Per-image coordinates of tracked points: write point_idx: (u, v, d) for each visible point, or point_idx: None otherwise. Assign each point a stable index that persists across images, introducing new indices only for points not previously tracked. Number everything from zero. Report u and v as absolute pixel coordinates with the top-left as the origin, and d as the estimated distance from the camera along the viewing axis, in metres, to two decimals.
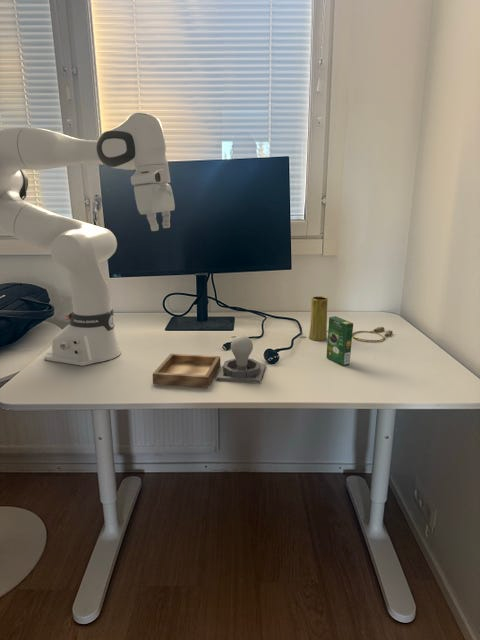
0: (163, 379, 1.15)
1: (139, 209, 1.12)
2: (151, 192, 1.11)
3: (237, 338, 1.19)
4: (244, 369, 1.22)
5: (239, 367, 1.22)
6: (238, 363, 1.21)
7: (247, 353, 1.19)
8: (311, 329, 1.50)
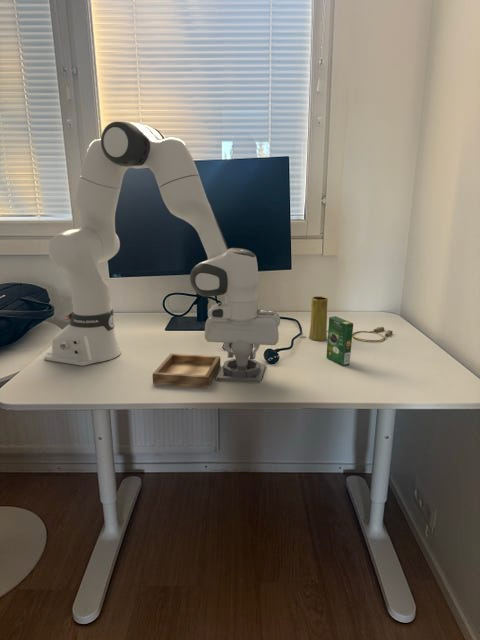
0: (163, 379, 1.15)
1: None
2: (206, 324, 1.19)
3: None
4: (244, 369, 1.22)
5: (239, 367, 1.22)
6: (238, 363, 1.21)
7: (247, 353, 1.19)
8: (311, 329, 1.50)
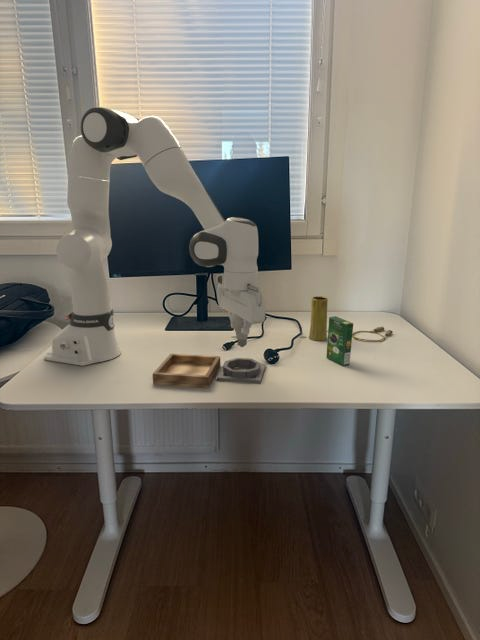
0: (163, 379, 1.15)
1: None
2: (217, 289, 1.24)
3: None
4: (242, 343, 1.20)
5: (237, 340, 1.20)
6: (236, 335, 1.20)
7: (241, 326, 1.17)
8: (311, 329, 1.50)
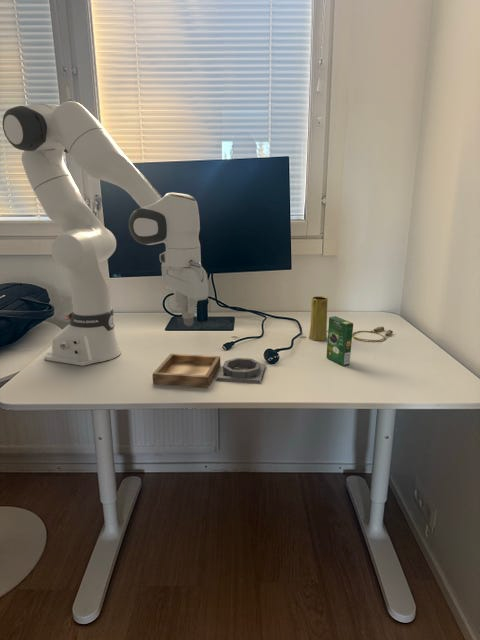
0: (163, 379, 1.15)
1: None
2: None
3: None
4: (188, 322, 1.17)
5: (183, 319, 1.17)
6: (182, 315, 1.17)
7: (186, 305, 1.14)
8: (311, 329, 1.50)
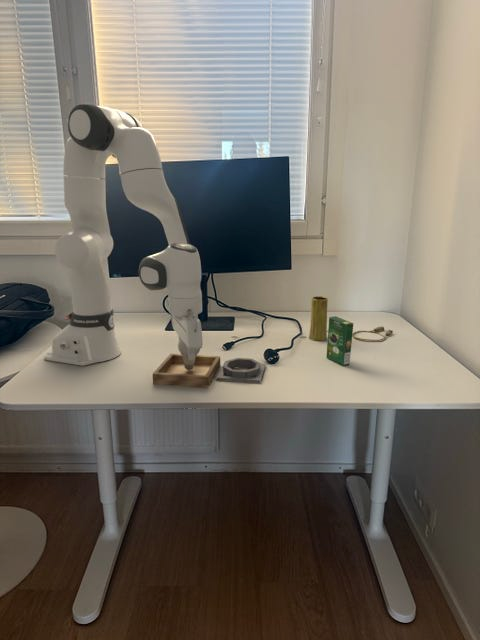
0: (163, 379, 1.15)
1: None
2: None
3: None
4: (188, 367, 1.22)
5: (184, 363, 1.22)
6: (183, 359, 1.21)
7: (186, 355, 1.18)
8: (311, 329, 1.50)
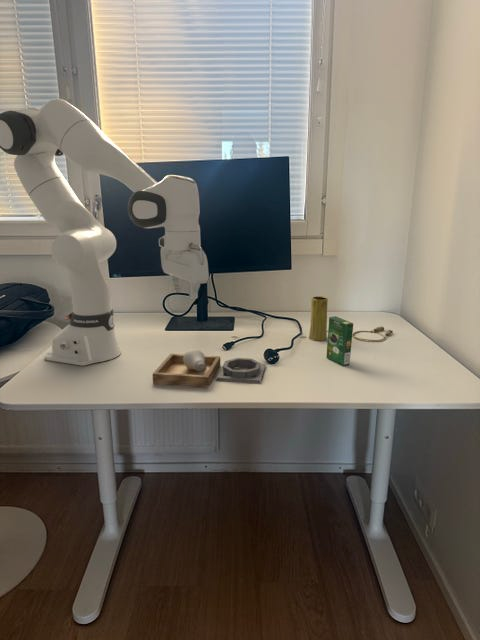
0: (163, 379, 1.15)
1: None
2: None
3: None
4: (202, 362, 1.18)
5: (196, 364, 1.18)
6: (194, 362, 1.19)
7: (197, 351, 1.22)
8: (311, 329, 1.50)
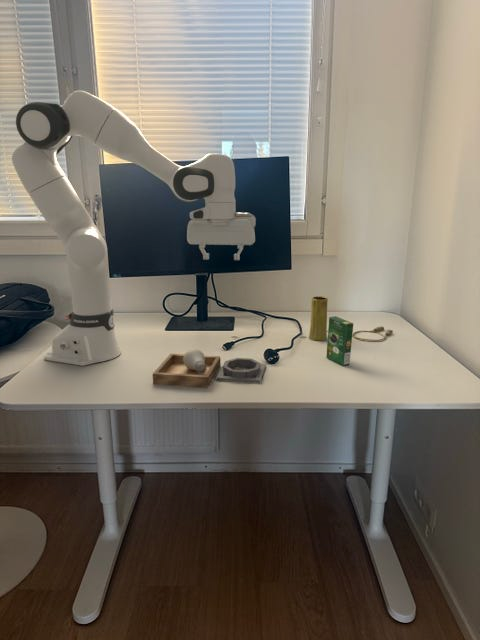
0: (163, 379, 1.15)
1: None
2: (188, 227, 1.29)
3: None
4: (202, 363, 1.18)
5: (196, 364, 1.18)
6: (194, 363, 1.19)
7: (197, 351, 1.22)
8: (311, 329, 1.50)
